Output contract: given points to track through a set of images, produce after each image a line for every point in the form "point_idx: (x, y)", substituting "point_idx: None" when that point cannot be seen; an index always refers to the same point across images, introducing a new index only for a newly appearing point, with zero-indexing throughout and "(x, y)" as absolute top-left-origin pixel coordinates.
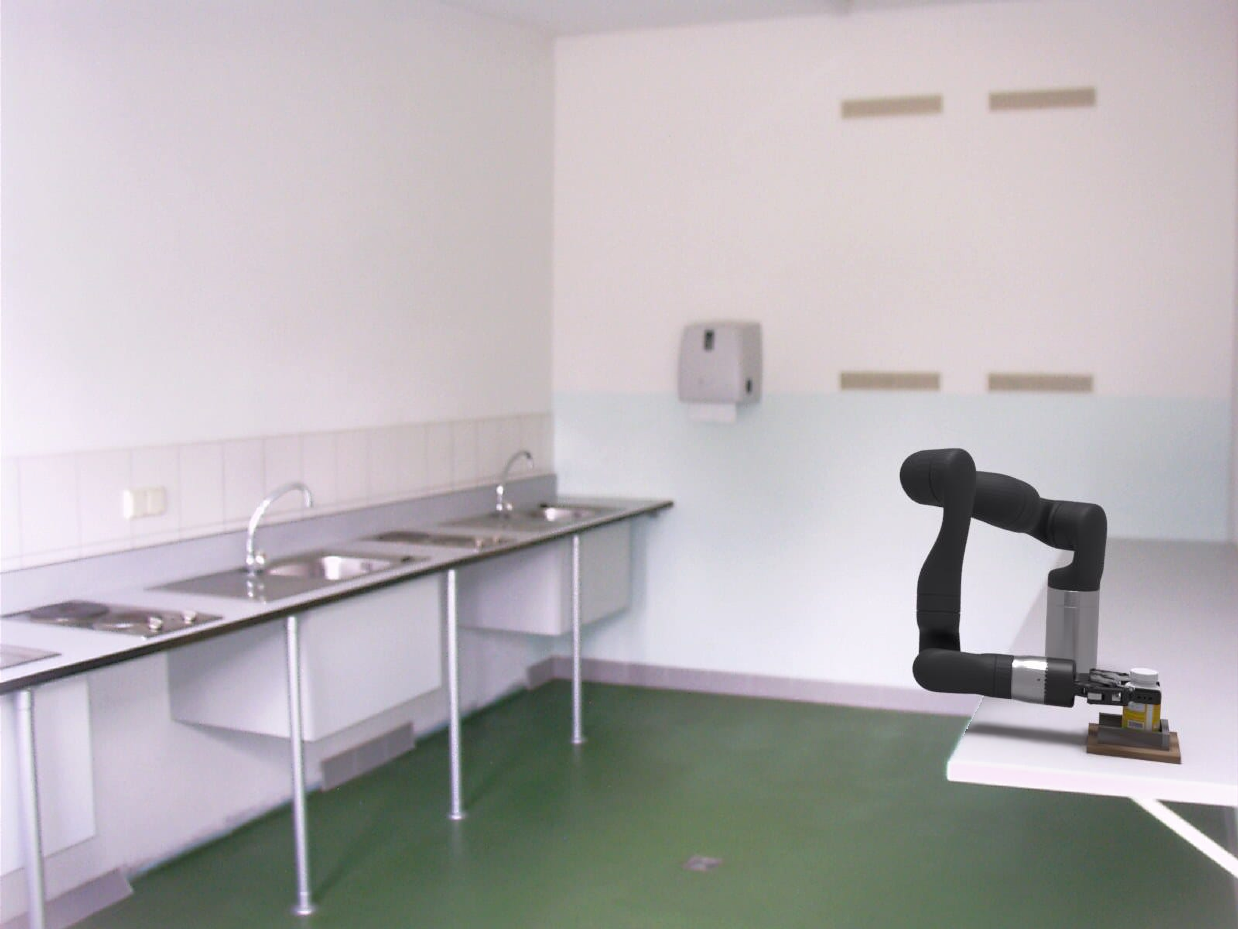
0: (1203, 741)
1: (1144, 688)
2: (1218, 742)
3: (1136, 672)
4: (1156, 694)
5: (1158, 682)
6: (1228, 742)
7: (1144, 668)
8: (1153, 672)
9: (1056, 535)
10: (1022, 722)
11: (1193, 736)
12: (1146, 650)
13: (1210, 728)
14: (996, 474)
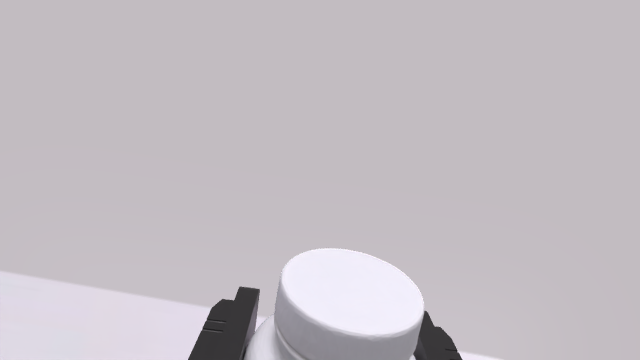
0: (191, 344)
1: (428, 351)
2: (196, 320)
3: (416, 316)
4: (441, 329)
5: (257, 289)
6: (194, 305)
7: (288, 271)
8: (358, 259)
9: None
10: None
11: (142, 356)
12: None
13: (70, 311)
14: None
